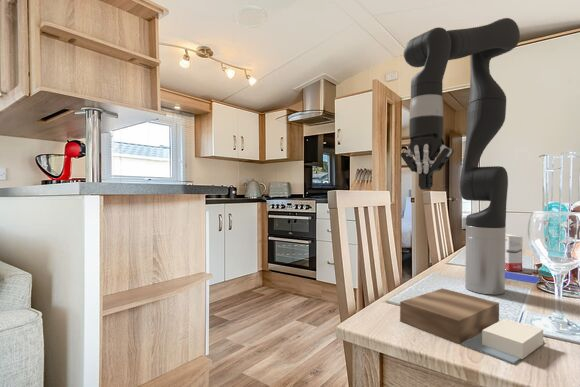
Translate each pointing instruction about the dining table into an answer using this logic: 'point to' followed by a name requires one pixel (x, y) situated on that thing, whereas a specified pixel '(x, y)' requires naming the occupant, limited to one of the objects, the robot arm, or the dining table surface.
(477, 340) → the mat
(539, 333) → the cream foam brick
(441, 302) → the brown wooden block
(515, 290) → the dining table surface
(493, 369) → the dining table surface
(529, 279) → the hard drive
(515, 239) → the ink box
